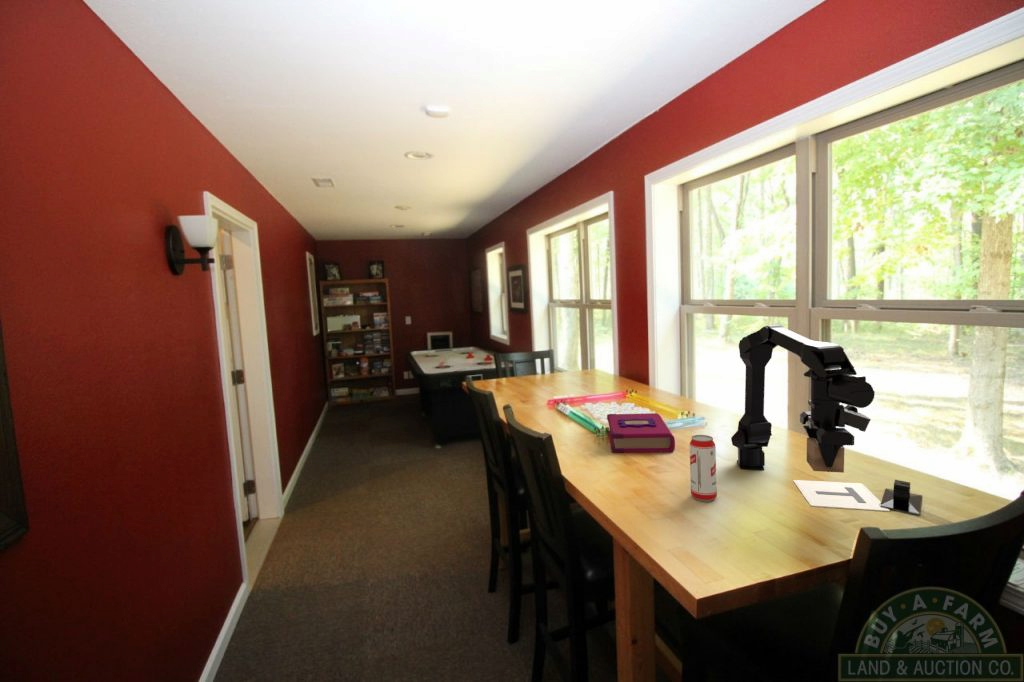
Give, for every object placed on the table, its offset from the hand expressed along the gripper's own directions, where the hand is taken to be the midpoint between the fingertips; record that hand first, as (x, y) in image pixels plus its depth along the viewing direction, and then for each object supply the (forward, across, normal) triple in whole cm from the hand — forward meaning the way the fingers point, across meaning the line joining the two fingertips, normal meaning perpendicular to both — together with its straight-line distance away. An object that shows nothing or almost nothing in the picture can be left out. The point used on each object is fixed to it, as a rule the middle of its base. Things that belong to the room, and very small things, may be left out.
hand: (824, 462), depth 111 cm
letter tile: (+11, +8, -5) cm, 15 cm away
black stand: (+11, +6, -18) cm, 22 cm away
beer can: (+12, +1, +27) cm, 29 cm away
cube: (+1, 0, 0) cm, 1 cm away
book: (+13, +47, +46) cm, 67 cm away
